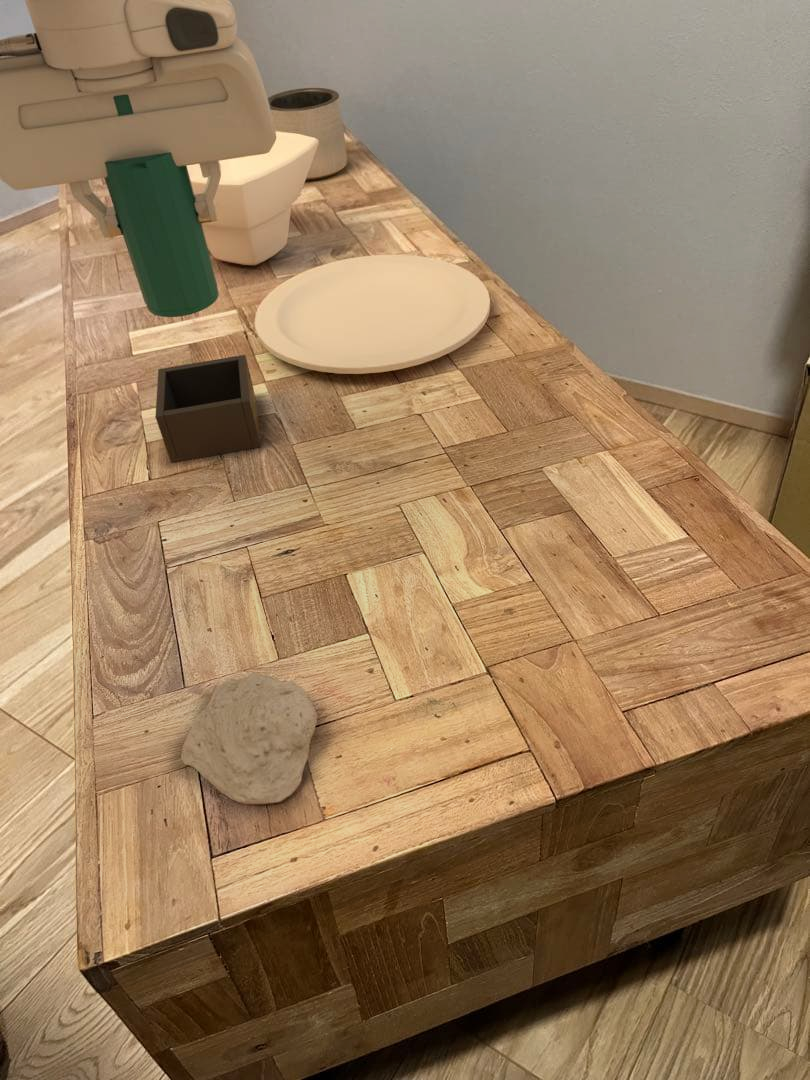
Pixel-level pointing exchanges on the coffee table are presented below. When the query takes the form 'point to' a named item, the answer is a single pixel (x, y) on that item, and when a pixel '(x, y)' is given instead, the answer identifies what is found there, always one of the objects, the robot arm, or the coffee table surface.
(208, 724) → the stone
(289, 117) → the planter
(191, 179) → the bowl
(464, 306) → the plate
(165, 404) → the holder
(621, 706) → the coffee table surface
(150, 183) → the bottle
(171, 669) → the coffee table surface
